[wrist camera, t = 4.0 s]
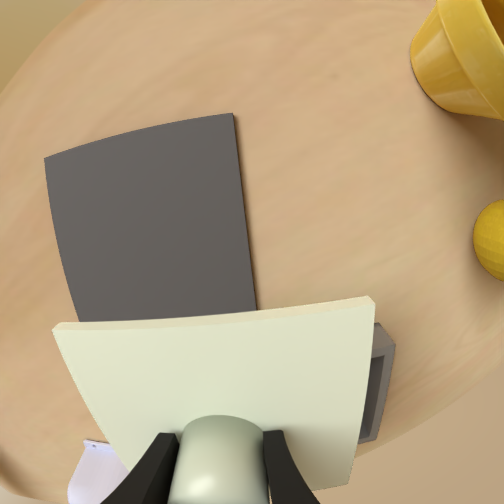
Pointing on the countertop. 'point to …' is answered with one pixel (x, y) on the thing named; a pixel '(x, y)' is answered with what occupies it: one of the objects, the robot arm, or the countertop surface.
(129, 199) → the mat
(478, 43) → the plant pot
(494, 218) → the lemon
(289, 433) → the lid
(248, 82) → the countertop surface
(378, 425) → the storage box
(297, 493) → the robot arm
